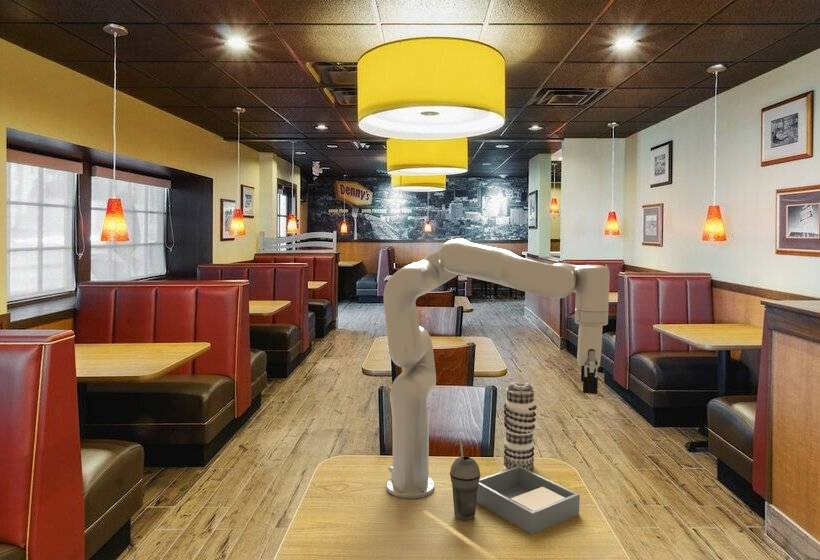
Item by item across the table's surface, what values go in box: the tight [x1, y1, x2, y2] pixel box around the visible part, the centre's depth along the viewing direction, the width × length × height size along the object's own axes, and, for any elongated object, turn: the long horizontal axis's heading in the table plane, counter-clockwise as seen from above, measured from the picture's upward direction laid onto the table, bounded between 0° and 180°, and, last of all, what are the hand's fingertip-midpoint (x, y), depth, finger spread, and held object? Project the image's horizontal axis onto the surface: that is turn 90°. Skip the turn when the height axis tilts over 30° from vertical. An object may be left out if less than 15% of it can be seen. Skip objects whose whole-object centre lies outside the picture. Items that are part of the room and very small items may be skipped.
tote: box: [476, 466, 581, 536], centre depth 147 cm, size 20×16×6 cm
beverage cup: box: [449, 438, 481, 522], centre depth 142 cm, size 7×7×20 cm
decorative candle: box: [503, 381, 538, 471], centre depth 170 cm, size 9×9×25 cm
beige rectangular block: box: [511, 487, 565, 511], centre depth 144 cm, size 8×11×4 cm
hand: (588, 387), depth 145 cm, fingers open, 9 cm apart
